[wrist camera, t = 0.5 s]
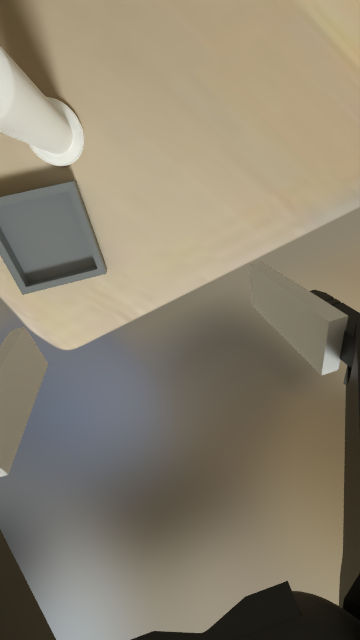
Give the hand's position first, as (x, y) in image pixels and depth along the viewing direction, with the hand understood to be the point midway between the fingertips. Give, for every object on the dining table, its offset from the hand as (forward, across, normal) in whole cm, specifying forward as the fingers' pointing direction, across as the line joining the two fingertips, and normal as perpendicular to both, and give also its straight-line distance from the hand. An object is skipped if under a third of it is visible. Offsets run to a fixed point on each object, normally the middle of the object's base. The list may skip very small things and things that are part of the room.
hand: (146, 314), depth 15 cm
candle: (+30, -6, +13) cm, 33 cm away
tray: (+29, -12, +1) cm, 32 cm away
